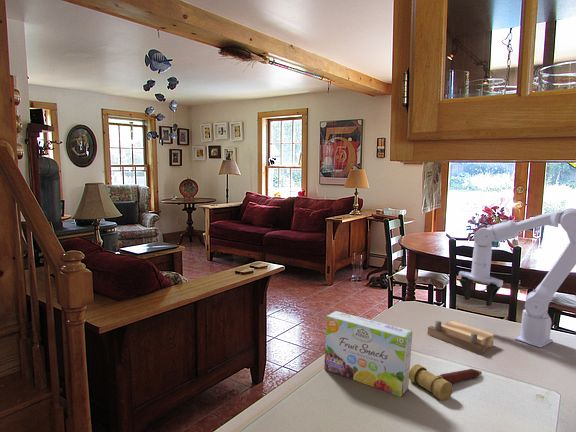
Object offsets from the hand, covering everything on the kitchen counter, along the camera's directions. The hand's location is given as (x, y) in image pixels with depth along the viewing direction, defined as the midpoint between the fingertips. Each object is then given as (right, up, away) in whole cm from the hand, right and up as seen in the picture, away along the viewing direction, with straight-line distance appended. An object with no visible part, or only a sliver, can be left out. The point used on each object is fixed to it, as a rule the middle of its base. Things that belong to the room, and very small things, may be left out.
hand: (477, 302), depth 143 cm
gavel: (-23, -13, -37) cm, 46 cm away
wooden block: (-8, -11, -10) cm, 17 cm away
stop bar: (-13, -10, -12) cm, 21 cm away
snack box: (-45, -12, -37) cm, 60 cm away
